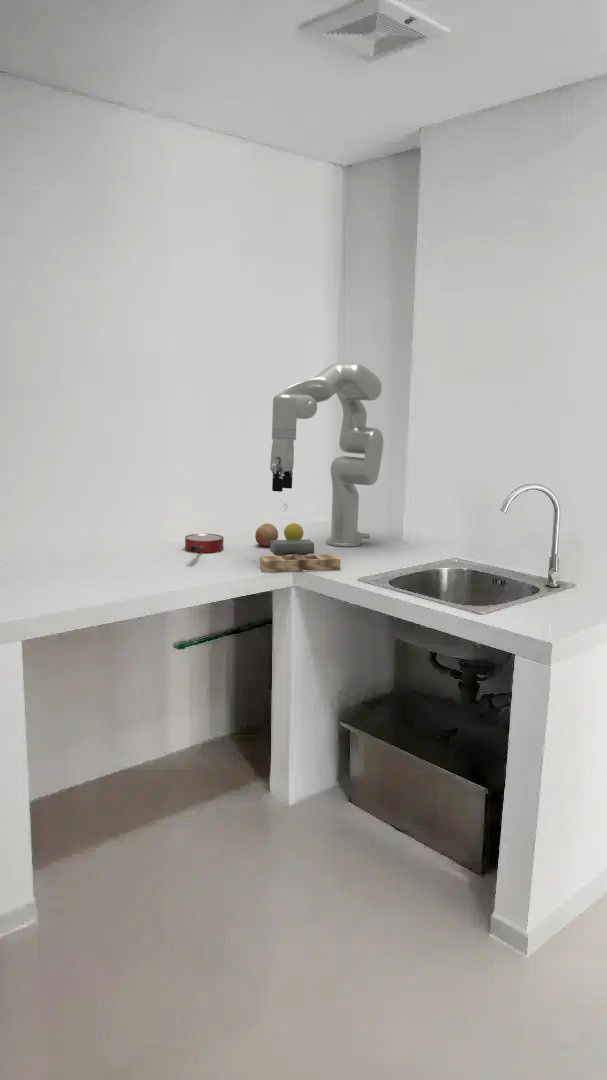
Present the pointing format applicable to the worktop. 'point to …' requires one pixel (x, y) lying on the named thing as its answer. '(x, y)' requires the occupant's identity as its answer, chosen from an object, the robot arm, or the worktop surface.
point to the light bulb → (293, 532)
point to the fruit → (266, 534)
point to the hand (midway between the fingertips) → (282, 489)
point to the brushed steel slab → (291, 547)
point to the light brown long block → (299, 563)
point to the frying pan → (204, 543)
